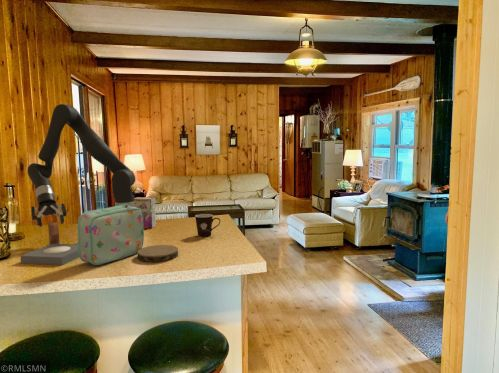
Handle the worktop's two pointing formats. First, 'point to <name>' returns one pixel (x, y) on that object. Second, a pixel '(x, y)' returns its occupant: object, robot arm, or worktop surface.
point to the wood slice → (157, 253)
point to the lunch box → (110, 234)
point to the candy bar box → (147, 210)
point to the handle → (53, 233)
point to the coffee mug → (205, 224)
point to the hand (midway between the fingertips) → (51, 224)
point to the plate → (52, 254)
